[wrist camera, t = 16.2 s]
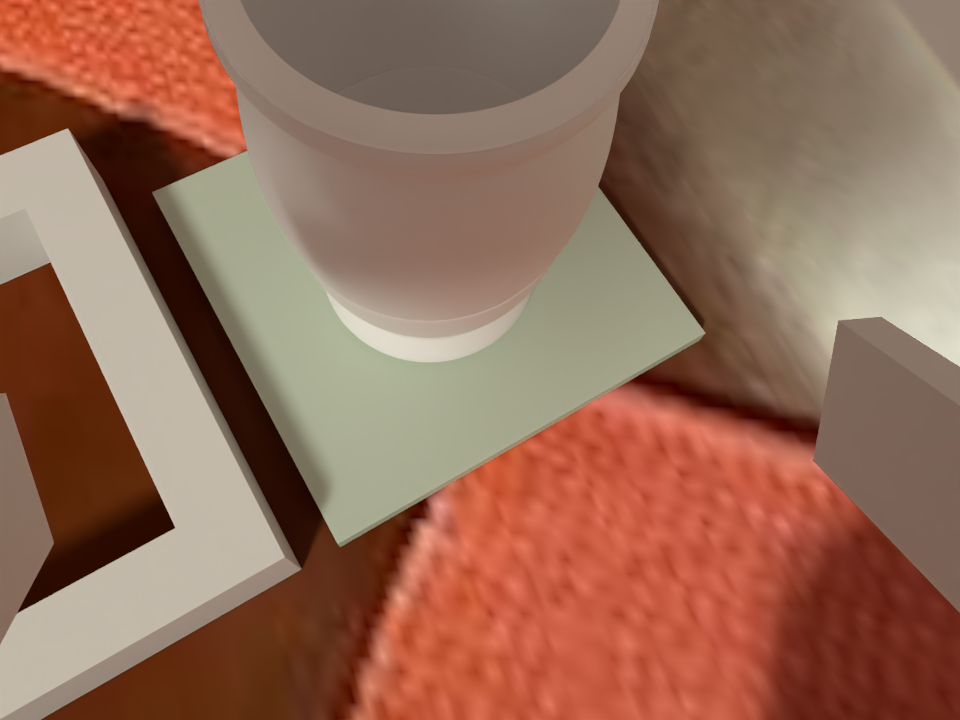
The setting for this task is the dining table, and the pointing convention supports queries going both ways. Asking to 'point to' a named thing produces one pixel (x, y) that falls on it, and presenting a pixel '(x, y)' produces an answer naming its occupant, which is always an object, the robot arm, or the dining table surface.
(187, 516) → the white square frame
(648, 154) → the dining table surface
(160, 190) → the pad
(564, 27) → the jar
